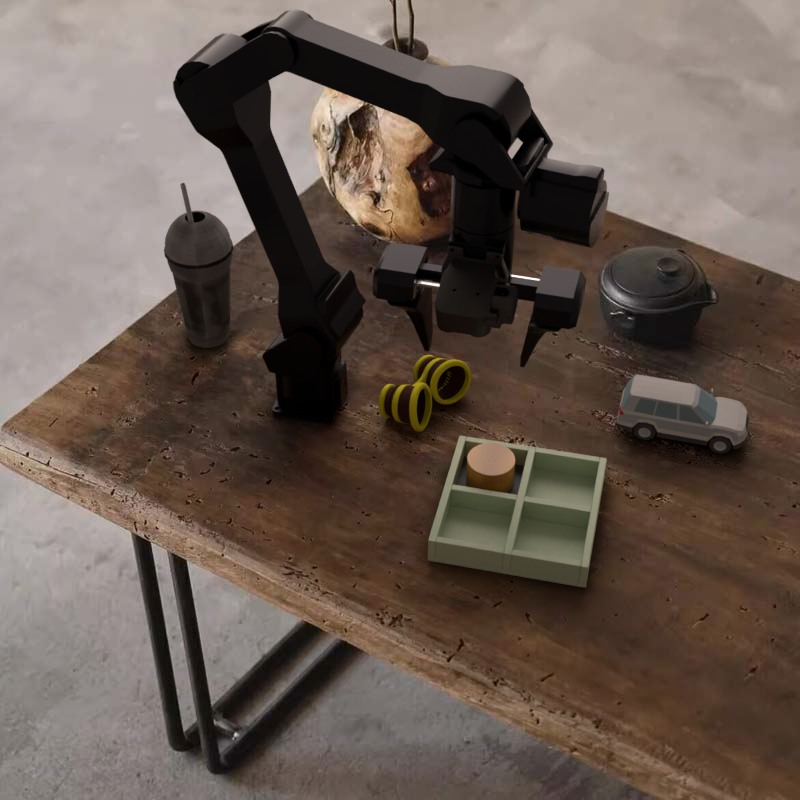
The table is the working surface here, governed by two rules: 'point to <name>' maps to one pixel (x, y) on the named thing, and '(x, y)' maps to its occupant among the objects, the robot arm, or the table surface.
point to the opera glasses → (435, 381)
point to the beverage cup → (201, 273)
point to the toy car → (682, 414)
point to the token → (491, 467)
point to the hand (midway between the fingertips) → (475, 356)
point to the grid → (522, 516)
